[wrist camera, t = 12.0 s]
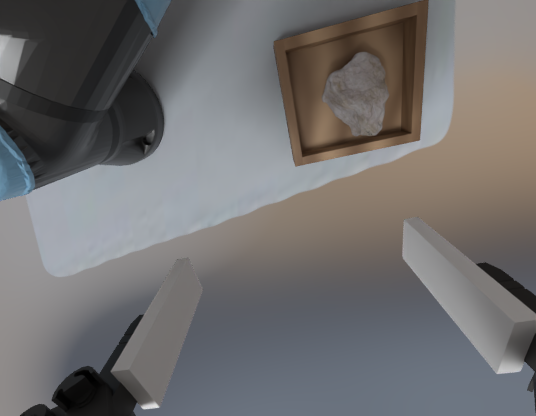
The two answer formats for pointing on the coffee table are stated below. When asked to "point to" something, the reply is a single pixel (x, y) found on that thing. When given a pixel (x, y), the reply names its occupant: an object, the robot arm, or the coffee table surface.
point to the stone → (358, 94)
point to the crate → (335, 58)
